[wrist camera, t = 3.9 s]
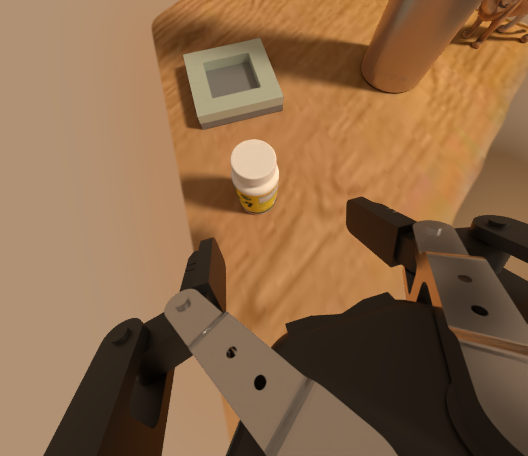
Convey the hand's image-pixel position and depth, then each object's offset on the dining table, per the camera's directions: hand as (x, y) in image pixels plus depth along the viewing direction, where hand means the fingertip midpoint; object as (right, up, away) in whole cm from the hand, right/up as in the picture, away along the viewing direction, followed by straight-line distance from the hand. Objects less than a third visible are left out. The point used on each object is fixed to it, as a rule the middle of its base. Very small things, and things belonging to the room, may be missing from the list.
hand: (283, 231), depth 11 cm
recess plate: (-6, +22, +18) cm, 29 cm away
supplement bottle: (-2, +4, +13) cm, 14 cm away
